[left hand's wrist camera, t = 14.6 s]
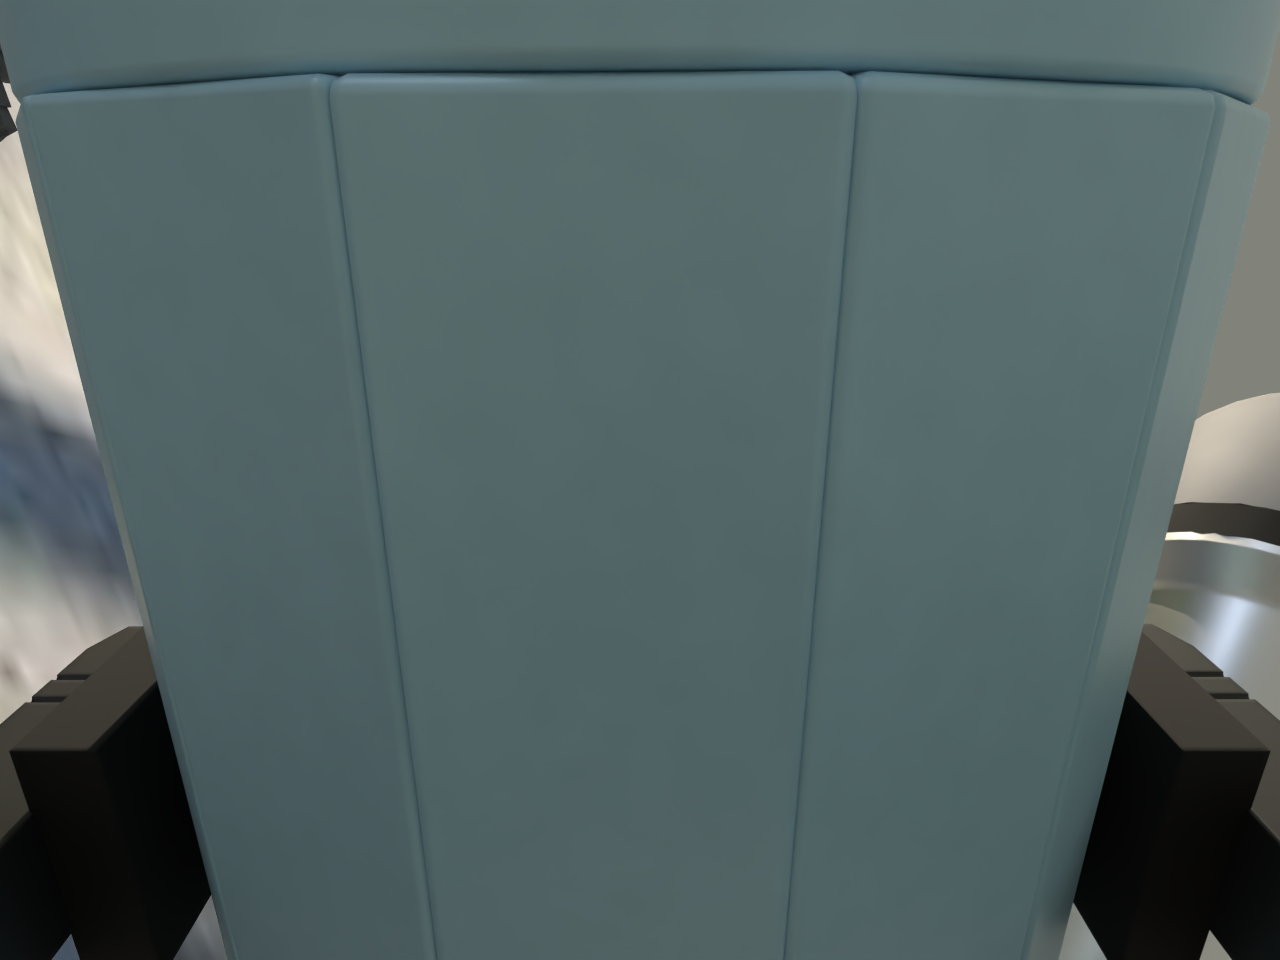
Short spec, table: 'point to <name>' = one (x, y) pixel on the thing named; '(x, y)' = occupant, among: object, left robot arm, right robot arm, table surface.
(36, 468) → the table surface
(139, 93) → the beaker
